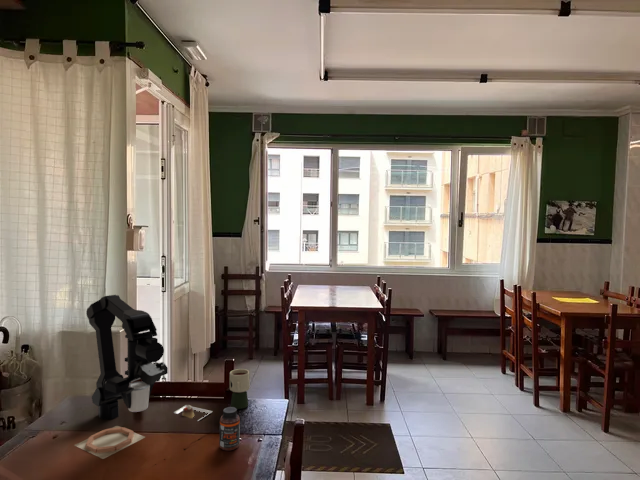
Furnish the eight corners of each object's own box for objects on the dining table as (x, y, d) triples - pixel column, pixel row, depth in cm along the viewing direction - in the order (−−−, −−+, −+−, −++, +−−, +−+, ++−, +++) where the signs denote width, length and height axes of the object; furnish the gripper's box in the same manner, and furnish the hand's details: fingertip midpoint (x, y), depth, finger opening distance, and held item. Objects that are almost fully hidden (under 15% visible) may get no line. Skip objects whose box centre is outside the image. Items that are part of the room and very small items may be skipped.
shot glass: (141, 414, 128) (141, 391, 128) (121, 411, 130) (120, 389, 129) (154, 404, 135) (154, 382, 135) (134, 401, 136) (134, 380, 136)
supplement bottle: (222, 453, 125) (222, 415, 125) (217, 443, 131) (217, 407, 130) (242, 448, 128) (242, 411, 128) (236, 439, 134) (236, 403, 133)
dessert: (161, 422, 145) (161, 408, 145) (185, 408, 156) (185, 395, 156) (190, 429, 140) (190, 415, 140) (212, 414, 152) (213, 401, 151)
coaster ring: (78, 444, 127) (78, 441, 127) (116, 427, 138) (116, 424, 138) (103, 456, 121) (103, 453, 121) (141, 437, 132) (141, 434, 132)
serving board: (74, 449, 127) (73, 445, 127) (117, 429, 139) (117, 425, 139) (103, 463, 120) (103, 459, 120) (145, 440, 132) (145, 437, 132)
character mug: (231, 401, 161) (231, 366, 161) (250, 400, 162) (250, 366, 161) (227, 414, 150) (227, 377, 150) (247, 413, 151) (248, 377, 150)
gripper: (128, 368, 119) (129, 423, 120) (180, 350, 136) (179, 398, 137) (103, 361, 125) (103, 413, 126) (155, 344, 141) (155, 391, 142)
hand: (137, 403), depth 132 cm, fingers closed on shot glass, 6 cm apart
